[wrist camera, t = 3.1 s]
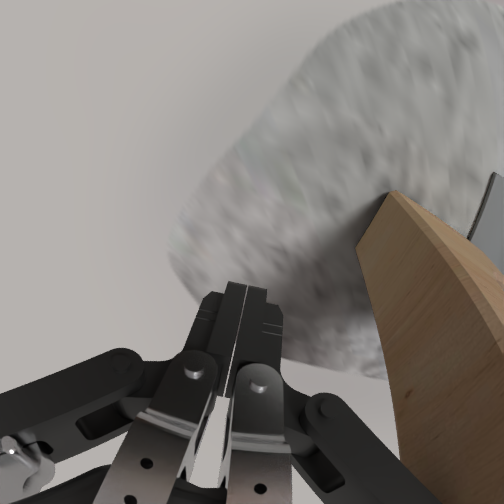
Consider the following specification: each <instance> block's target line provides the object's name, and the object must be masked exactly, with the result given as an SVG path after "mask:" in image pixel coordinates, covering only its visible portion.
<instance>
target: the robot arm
mask: <svg viewBox="0 0 504 504" xmlns="http://www.w3.org/2000/svg"><path fill="white" fill-rule="evenodd" d="M246 288H247V285H244V284H239V283H235V282H230V281H228V284H227V287H226V290H225V293H224V294H223V293H218V292H214V291H212V292H210V293H209V294H208V295H207V296H205V297H204V298H203V300H202V303H201V305H200V308H199V310H198V313H197V315H196V318H195V320H194V323H193V326H192V328H191V331H190V333H189V336H188V338H187V341H186V343H185V346H184V348H183V350H182V351H181V352H180V353H178V354H177V355H176V356H175V357H174V358H172V359H170V360H166V361H143V360H142V358H141V357H140V356H139V354H137V353H136V352H134V351H133V350H130V349H127V348H116V349H112V350H110V351H107V352H105V353H103V354H100V355H98V356H96V357H93V358H91V359H88V360H86V361H83V362H81V363H78V364H76V365H74V366H71V367H69V368H66V369H64V370H61V371H59V372H56V373H54V374H51V375H48V376H46V377H44V378H41V379H38V380H36V381H33V382H30V383H28V384H25V385H23V386H20V387H17V388H15V389H12V390H9V391H7V392H4V393H1V394H0V504H292V465H293V467H294V468H295V469H296V470H297V472H298V473H299V474H300V475H301V477H302V478H303V479H304V480H305V481H306V483H307V484H308V485H309V486H310V487H311V489H312V490H313V491H314V492H315V494H316V495H317V496H318V497H319V498H320V499H321V501H322V502H323V503H324V504H442V503H441V502H440V501H439V500H438V499H437V498H436V497H435V496H434V495H433V494H432V493H431V492H430V491H429V490H428V489H427V488H426V487H425V486H424V485H423V484H422V483H421V482H420V481H419V480H418V479H417V478H416V477H415V476H414V475H413V474H412V473H411V472H410V471H409V470H408V469H407V468H406V467H405V466H404V465H403V463H402V462H401V461H400V460H399V459H398V458H397V457H396V456H395V455H394V454H393V453H392V452H391V451H390V450H389V449H388V448H387V447H386V446H385V445H384V444H383V443H382V442H381V441H380V439H379V438H377V436H376V435H375V434H374V433H373V432H372V431H371V430H370V429H369V428H368V427H367V426H366V425H365V423H364V422H363V421H362V420H361V419H360V418H359V417H358V416H357V415H356V414H355V413H354V412H353V410H352V409H351V408H350V407H349V406H348V405H347V404H346V403H345V402H344V401H343V400H342V399H341V398H339V397H338V396H336V395H334V394H331V393H318V394H316V395H313V396H312V397H310V396H307V395H305V394H302V393H300V392H298V391H296V390H294V389H293V388H291V387H290V386H289V385H287V383H285V381H284V379H283V378H282V376H281V372H280V362H281V347H282V329H283V328H282V326H283V314H282V312H281V310H280V308H279V306H278V305H275V304H270V303H266V297H267V289H263V288H259V287H254V286H248V291H247V296H246V300H245V305H244V310H243V314H242V319H241V324H240V328H239V333H238V337H237V342H236V347H235V351H234V356H233V361H232V366H231V370H230V374H229V379H228V384H227V388H226V393H225V397H227V398H230V402H229V408H228V412H227V416H226V424H225V431H224V441H223V449H222V450H223V451H222V458H221V466H220V472H219V478H218V486H217V488H200V487H198V486H196V485H193V484H191V483H189V480H190V477H191V474H192V471H193V467H194V463H195V459H196V456H197V453H198V450H199V447H200V444H201V442H202V439H203V436H204V433H205V430H206V427H207V424H208V421H209V418H210V415H211V412H212V411H213V409H214V405H215V401H216V397H217V396H222V397H223V393H224V388H225V384H226V379H227V375H228V371H229V366H230V362H231V357H232V352H233V348H234V344H235V339H236V335H237V330H238V326H239V321H240V316H241V312H242V307H243V302H244V297H245V293H246ZM127 431H128V432H127ZM125 432H127V434H126V436H125V439H124V440H123V442H122V445H121V446H120V448H119V450H118V452H117V454H116V457H115V458H114V460H113V462H112V464H110V465H104V466H100V467H97V468H94V469H92V470H90V471H88V472H86V473H83V474H81V475H79V476H77V477H75V478H73V479H70V480H68V481H66V482H64V483H61V484H59V485H57V486H55V487H52V488H50V489H47V490H45V491H42V492H40V490H41V488H42V487H43V486H44V485H46V484H48V483H49V482H50V481H51V480H52V479H53V477H54V474H55V465H54V464H55V463H58V462H60V461H63V460H65V459H68V458H70V457H73V456H75V455H78V454H80V453H82V452H84V451H87V450H89V449H91V448H93V447H96V446H98V445H100V444H102V443H104V442H107V441H109V440H110V439H113V438H115V437H117V436H119V435H121V434H123V433H125ZM39 492H40V493H39Z"/></svg>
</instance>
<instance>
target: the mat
mask: <svg viewBox="0 0 504 504" xmlns="http://www.w3.org/2000/svg"><path fill="white" fill-rule="evenodd" d="M468 240H469V241H470V242H471V243H473V244H474V245H475V246H476V247H478V248H479V249H480V250H481V251H483V252H484V254H485V255H486V256H487V257H488V258H489V259H490V260H491V261H492V262H493V264H494V265H495V266H496V267H497V268H498V269H499V271H500V272H501V273H502V274H503V275H504V177H502V176H500V175H499V174H497V173H495V172H494V173H493V176H492V179H491V182H490V185H489V188H488V191H487V194H486V197H485V200H484V202H483V205H482V208H481V210H480V213H479V215H478V218H477V220H476V223H475V225H474V228H473V230H472V232H471V234H470V237H469V239H468ZM503 291H504V290H503Z"/></svg>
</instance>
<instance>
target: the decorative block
mask: <svg viewBox="0 0 504 504" xmlns="http://www.w3.org/2000/svg"><path fill="white" fill-rule="evenodd" d="M355 249H356V253H357V257H358V260H359V263H360V267H361V270H362V273H363V277H364V280H365V284H366V287H367V291H368V295H369V298H370V302H371V305H372V309H373V313H374V317H375V321H376V325H377V329H378V333H379V337H380V341H381V345H382V350H383V354H384V359H385V364H386V369H387V374H388V379H389V385H390V390H391V396H392V402H393V408H394V415H395V422H396V430H397V437H398V446H399V455H400V461H401V462H402V463H403V465H404V466H405V467H406V468H407V469H408V470H409V471H410V472H411V473H412V474H413V475H414V476H415V477H416V478H417V479H418V480H419V481H420V482H421V483H422V484H423V485H424V486H425V487H426V488H427V489H428V490H429V491H430V492H431V493H432V494H433V495H434V496H435V497H436V498H437V499H438V500H439V501H440V502H441V503H442V504H504V291H503V290H504V275H503V274H502V273H501V272H500V271H499V269H498V268H497V267H496V266H495V265H494V264H493V262H492V261H491V260H490V259H489V258H488V257H487V256H486V255H485V254H484V252H483V251H481V250H480V249H479V248H478V247H476V246H475V245H474V244H473V243H471V242H470V241H469V240H467V239H466V238H465V237H464V236H462V235H461V234H460V233H458V232H457V231H456V230H454V229H453V228H452V227H450V226H449V225H447V224H446V223H445V222H443V221H442V220H440V219H439V218H438V217H436V216H435V215H433V214H432V213H430V212H429V211H427V210H426V209H424V208H423V207H421V206H420V205H418V204H417V203H415V202H414V201H412V200H411V199H409V198H408V197H406V196H405V195H403V194H401V193H400V192H398V191H397V190H395V191H391V192H389V193H388V195H387V197H386V199H385V200H384V202H383V204H382V205H381V207H380V209H379V210H378V212H377V214H376V215H375V217H374V219H373V220H372V222H371V224H370V225H369V227H368V228H367V230H366V232H365V233H364V235H363V236H362V238H361V240H360V241H359V243H358V244H357V246H356V247H355Z"/></svg>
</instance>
